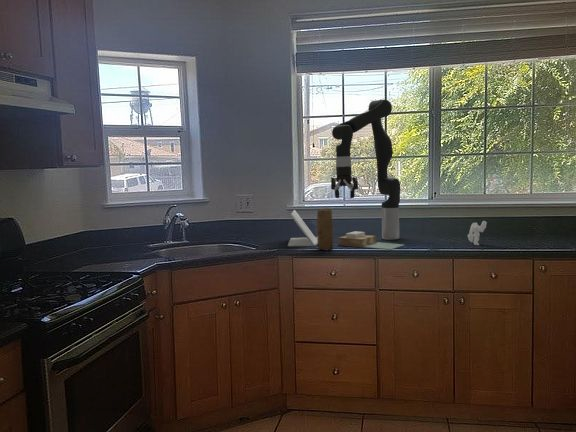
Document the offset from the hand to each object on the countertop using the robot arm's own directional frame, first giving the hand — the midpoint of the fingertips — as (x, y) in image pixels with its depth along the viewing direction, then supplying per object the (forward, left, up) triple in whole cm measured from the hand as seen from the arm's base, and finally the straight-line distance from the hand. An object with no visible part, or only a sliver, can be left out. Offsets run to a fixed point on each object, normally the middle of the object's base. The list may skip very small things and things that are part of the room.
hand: (344, 198), depth 261 cm
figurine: (-39, +53, -25) cm, 70 cm away
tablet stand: (-3, -28, -25) cm, 37 cm away
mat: (-11, +15, -25) cm, 31 cm away
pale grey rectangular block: (-10, 0, -21) cm, 23 cm away
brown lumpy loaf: (+9, -6, -25) cm, 27 cm away
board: (-10, +1, -25) cm, 27 cm away
